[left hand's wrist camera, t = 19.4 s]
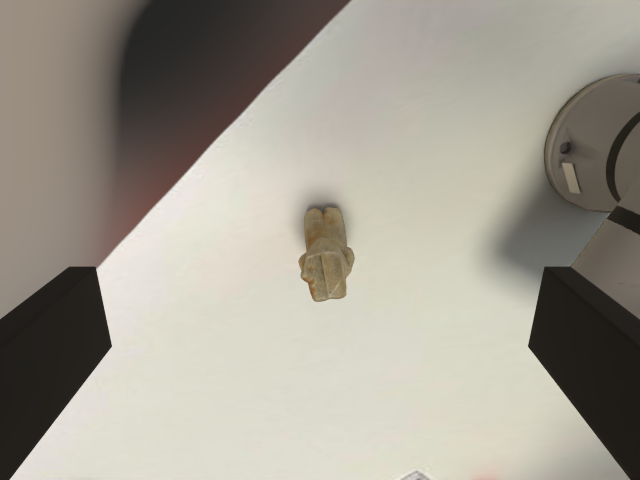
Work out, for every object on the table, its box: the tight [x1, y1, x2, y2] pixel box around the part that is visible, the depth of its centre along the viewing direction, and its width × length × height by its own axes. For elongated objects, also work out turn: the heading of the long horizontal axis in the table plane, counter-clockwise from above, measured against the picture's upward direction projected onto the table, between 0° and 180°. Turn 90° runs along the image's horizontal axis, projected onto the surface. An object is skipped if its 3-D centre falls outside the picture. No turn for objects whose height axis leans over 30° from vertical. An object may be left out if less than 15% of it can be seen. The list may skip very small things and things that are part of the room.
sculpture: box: [299, 207, 355, 302], centre depth 46 cm, size 6×7×15 cm
